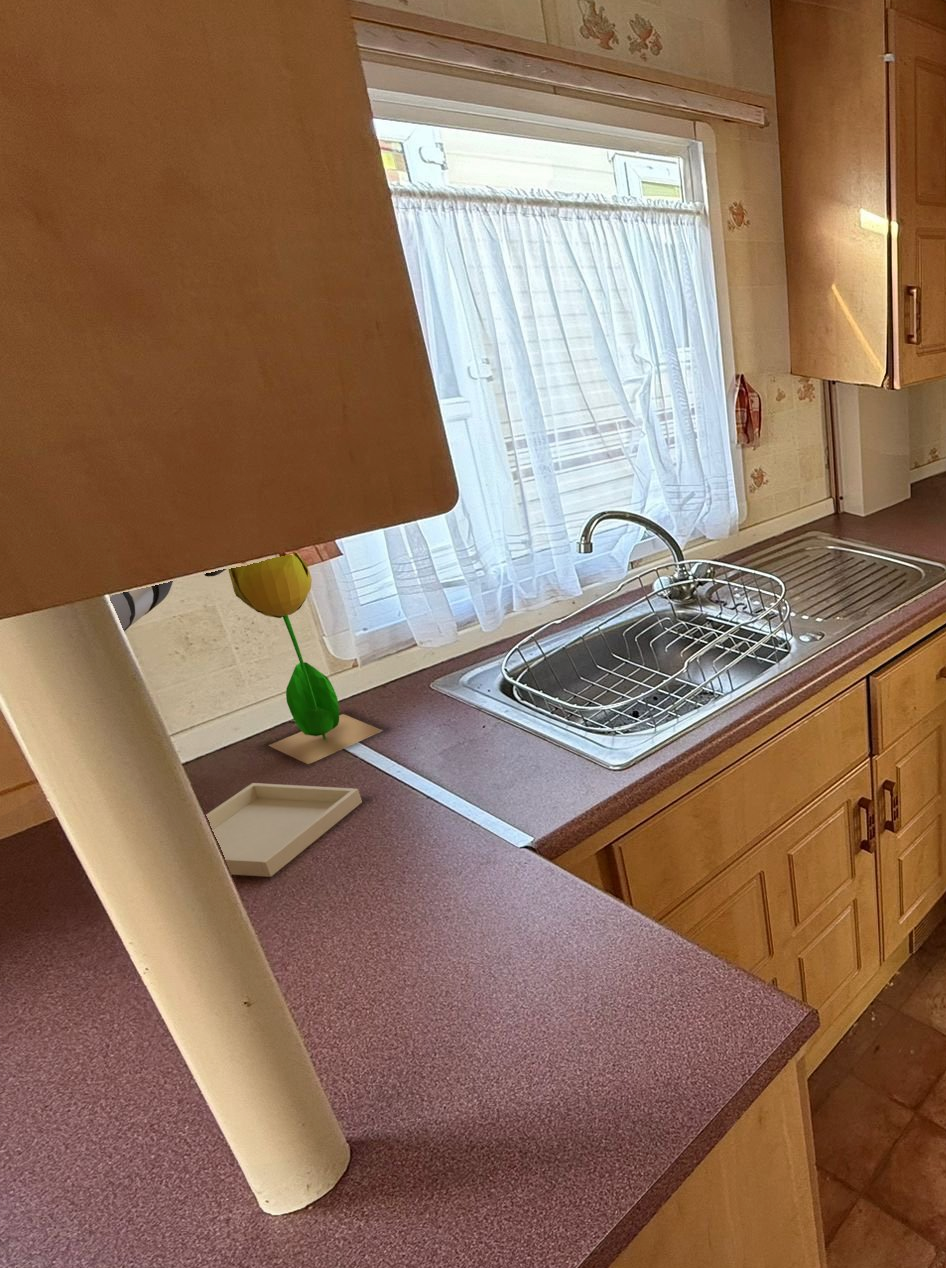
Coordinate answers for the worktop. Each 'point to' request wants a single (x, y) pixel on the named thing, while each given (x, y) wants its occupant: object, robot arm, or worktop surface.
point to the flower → (280, 594)
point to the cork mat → (325, 740)
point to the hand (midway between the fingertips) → (194, 525)
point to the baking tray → (276, 823)
